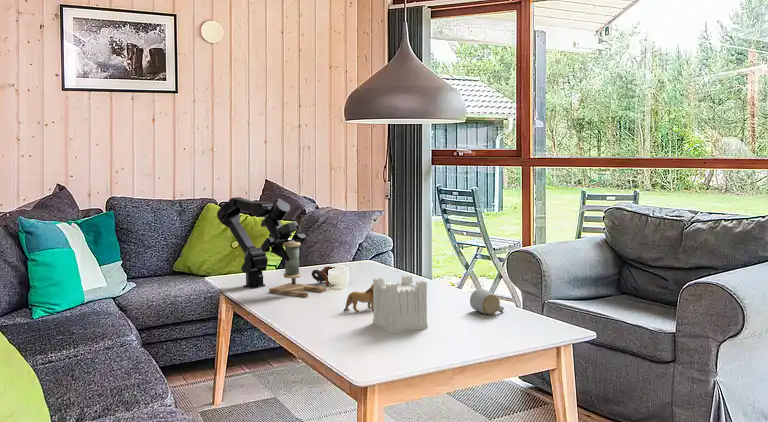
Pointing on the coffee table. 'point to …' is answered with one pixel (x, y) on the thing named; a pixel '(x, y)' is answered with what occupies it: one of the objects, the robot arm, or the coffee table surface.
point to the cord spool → (292, 260)
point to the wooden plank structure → (296, 289)
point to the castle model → (400, 305)
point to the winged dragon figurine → (322, 275)
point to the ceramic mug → (485, 302)
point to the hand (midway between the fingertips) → (294, 259)
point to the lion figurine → (360, 299)
